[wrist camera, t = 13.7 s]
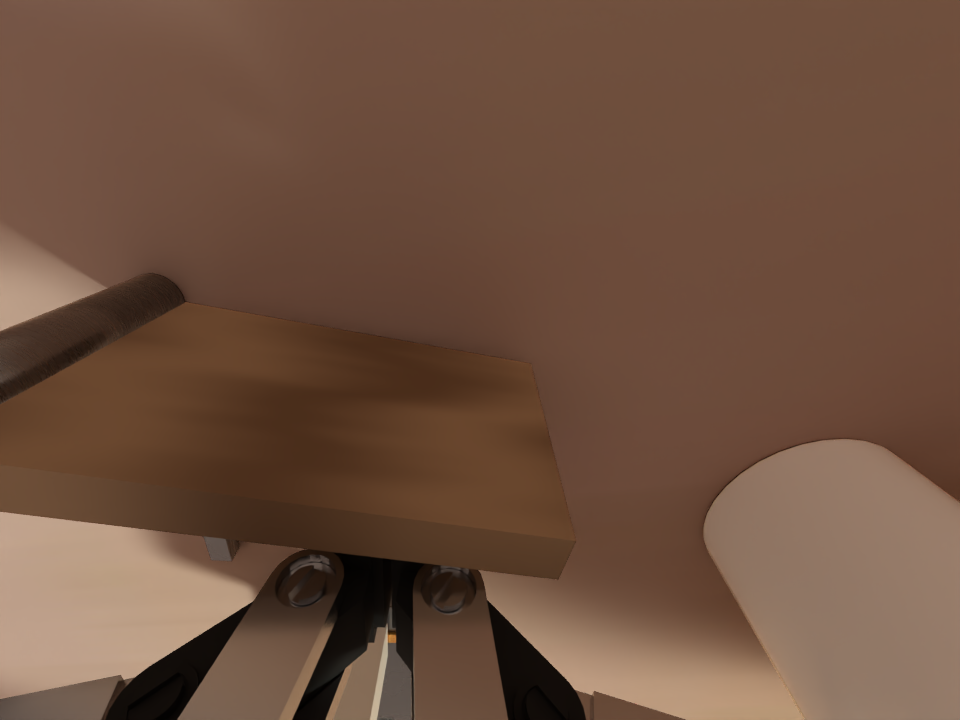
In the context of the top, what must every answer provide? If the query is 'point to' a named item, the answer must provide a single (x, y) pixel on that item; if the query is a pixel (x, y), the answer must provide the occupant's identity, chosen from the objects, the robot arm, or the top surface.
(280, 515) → the door
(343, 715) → the fader cap
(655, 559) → the top surface
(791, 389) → the top surface
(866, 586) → the pill bottle
